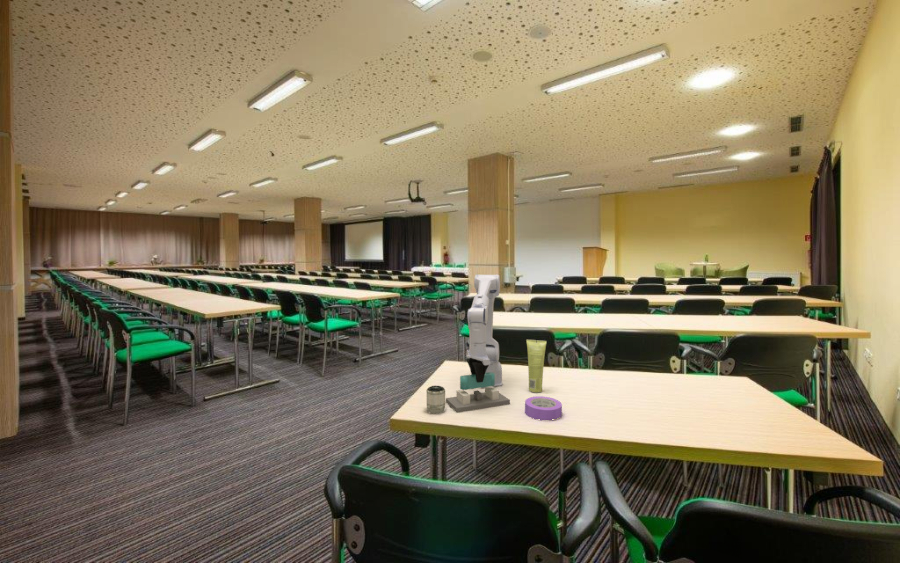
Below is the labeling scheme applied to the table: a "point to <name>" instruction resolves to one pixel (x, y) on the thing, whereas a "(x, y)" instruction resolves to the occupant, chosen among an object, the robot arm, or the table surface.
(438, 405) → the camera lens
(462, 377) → the teal dome-capped pillar
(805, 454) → the table surface
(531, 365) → the tube
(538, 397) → the masking tape
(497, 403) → the display stand
